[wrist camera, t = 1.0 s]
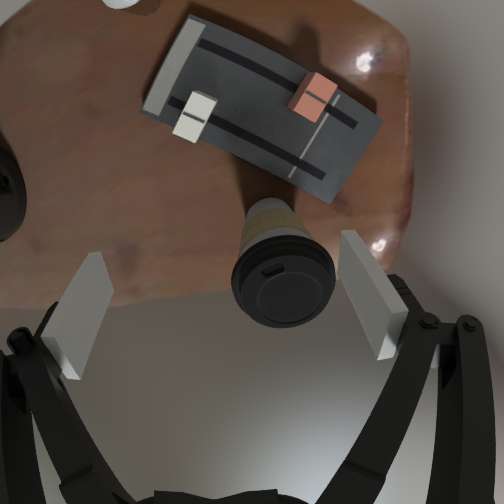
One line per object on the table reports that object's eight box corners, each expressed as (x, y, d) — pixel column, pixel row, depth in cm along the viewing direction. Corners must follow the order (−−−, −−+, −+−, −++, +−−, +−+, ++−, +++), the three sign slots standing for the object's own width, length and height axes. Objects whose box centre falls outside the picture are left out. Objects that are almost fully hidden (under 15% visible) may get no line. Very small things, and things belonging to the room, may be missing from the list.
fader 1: (179, 126, 31) (172, 133, 28) (197, 90, 29) (192, 91, 26) (199, 135, 32) (195, 143, 29) (218, 99, 30) (216, 102, 27)
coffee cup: (262, 168, 36) (277, 224, 24) (322, 211, 40) (362, 281, 27) (217, 228, 40) (209, 307, 27) (276, 264, 43) (293, 347, 30)
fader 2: (286, 106, 31) (293, 110, 27) (307, 72, 29) (316, 72, 25) (306, 117, 31) (315, 123, 28) (326, 84, 30) (338, 85, 26)
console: (144, 110, 32) (139, 112, 30) (191, 17, 27) (189, 13, 25) (325, 198, 39) (329, 204, 37) (376, 117, 34) (383, 120, 32)
